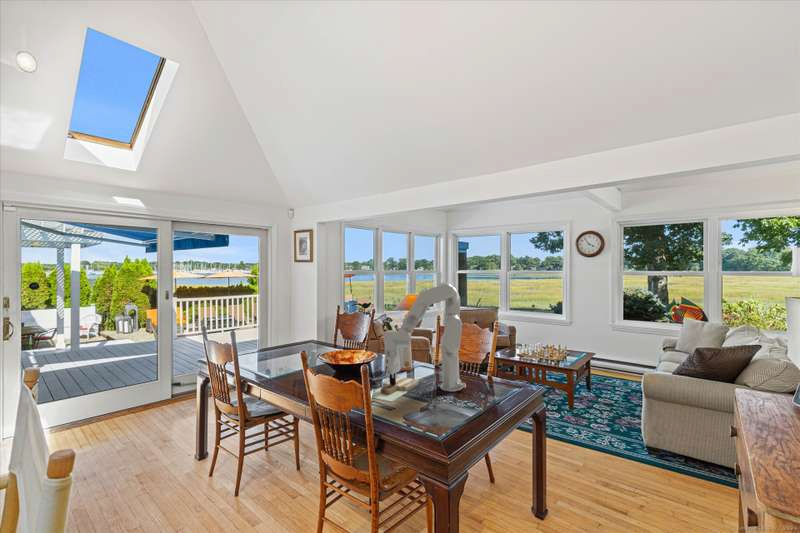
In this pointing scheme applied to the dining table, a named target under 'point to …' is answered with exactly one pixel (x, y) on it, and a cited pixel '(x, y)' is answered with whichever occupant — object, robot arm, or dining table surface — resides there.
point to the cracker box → (405, 356)
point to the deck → (403, 383)
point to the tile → (389, 389)
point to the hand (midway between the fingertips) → (392, 384)
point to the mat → (387, 397)
